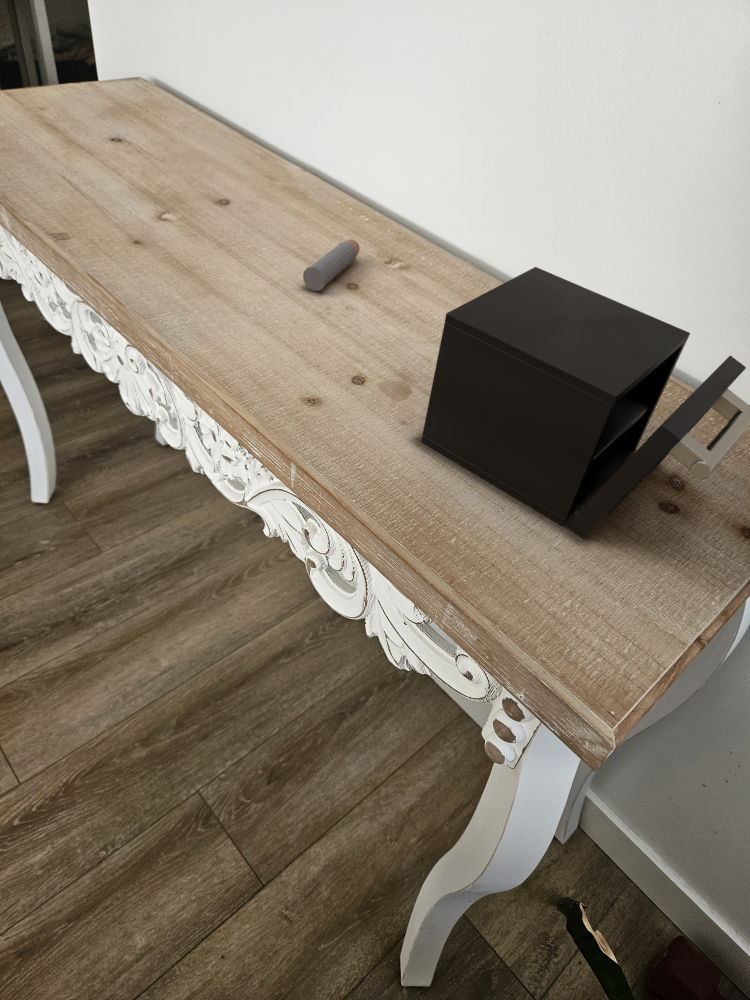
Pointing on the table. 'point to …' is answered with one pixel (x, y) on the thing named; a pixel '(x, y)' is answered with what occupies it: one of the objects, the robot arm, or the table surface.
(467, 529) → the table surface
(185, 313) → the table surface
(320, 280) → the bullet cartridge
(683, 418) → the oven door
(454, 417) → the oven
